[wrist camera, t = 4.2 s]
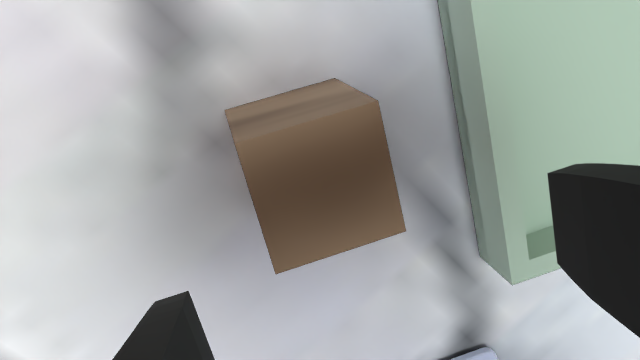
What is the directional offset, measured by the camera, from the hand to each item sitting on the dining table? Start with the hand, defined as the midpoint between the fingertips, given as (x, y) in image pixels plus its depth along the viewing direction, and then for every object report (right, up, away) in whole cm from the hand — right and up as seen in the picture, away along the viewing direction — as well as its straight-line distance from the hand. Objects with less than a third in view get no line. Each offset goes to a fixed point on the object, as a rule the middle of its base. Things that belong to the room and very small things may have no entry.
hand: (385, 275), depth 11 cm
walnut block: (-2, +3, +10) cm, 10 cm away
